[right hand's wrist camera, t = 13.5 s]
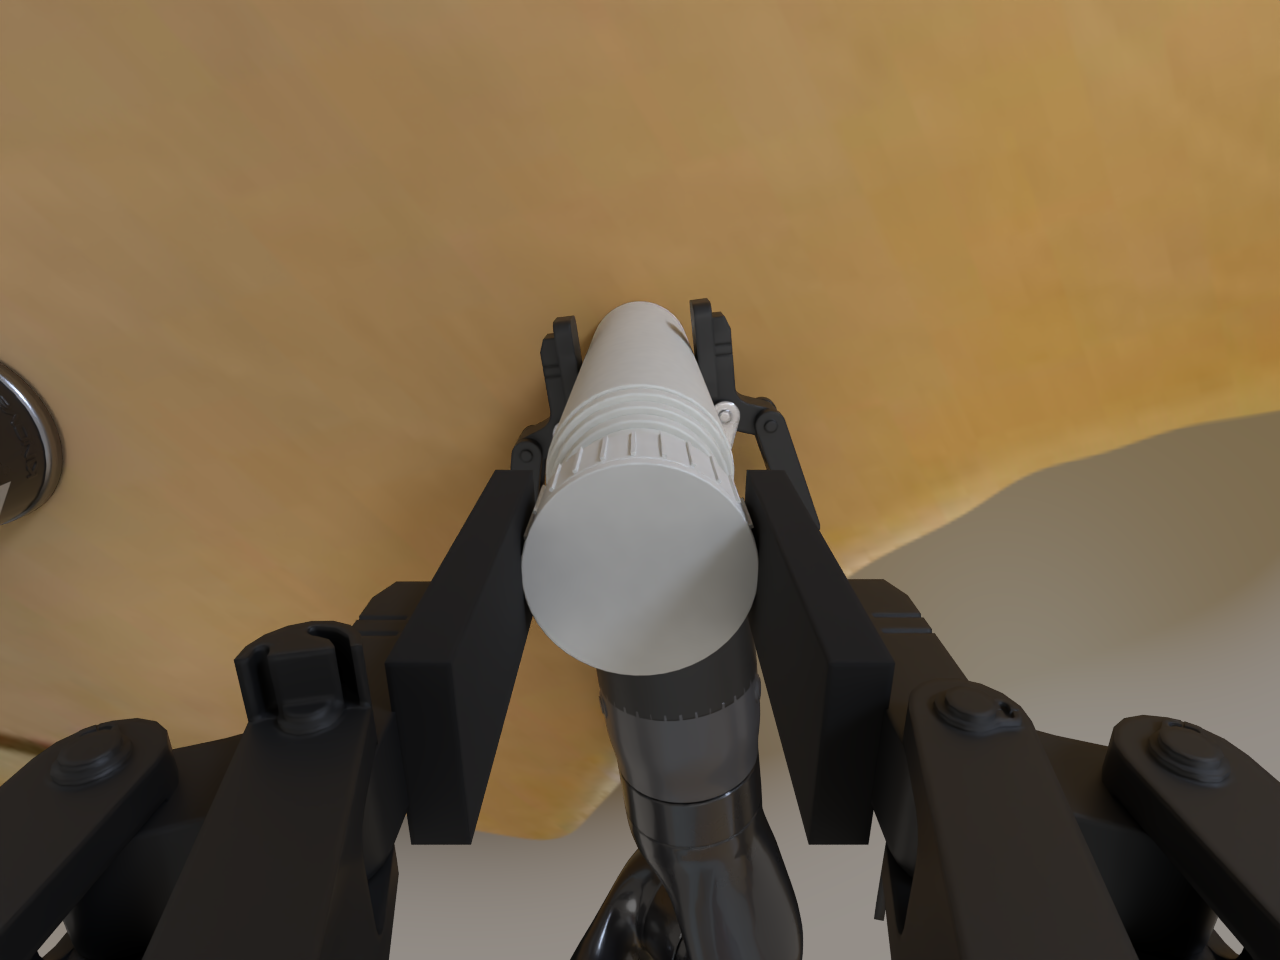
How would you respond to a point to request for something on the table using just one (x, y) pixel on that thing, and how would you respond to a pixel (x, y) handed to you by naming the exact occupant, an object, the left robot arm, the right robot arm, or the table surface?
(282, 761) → the right robot arm
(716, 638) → the cap
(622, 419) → the bottle
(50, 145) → the table surface
